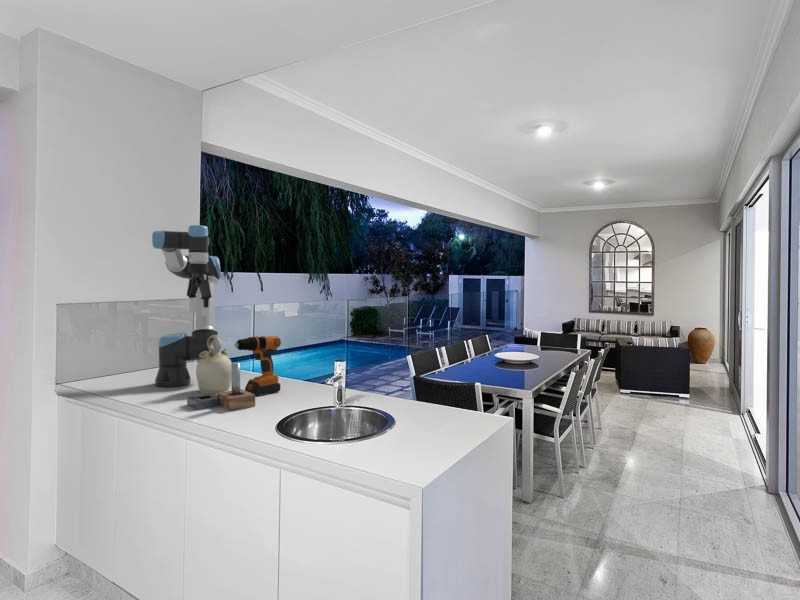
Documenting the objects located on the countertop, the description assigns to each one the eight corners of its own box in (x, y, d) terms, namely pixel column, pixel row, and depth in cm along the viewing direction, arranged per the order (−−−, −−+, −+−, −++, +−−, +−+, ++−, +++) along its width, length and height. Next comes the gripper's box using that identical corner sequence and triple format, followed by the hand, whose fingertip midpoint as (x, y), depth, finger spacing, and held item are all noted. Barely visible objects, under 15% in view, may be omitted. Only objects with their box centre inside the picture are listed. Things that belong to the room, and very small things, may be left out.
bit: (230, 403, 190) (229, 363, 190) (238, 402, 193) (237, 362, 192) (233, 405, 188) (233, 364, 187) (241, 404, 190) (241, 363, 189)
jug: (203, 397, 204) (203, 337, 203) (191, 390, 216) (190, 334, 215) (238, 391, 214) (238, 335, 213) (225, 385, 226) (224, 331, 225)
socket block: (187, 405, 190) (187, 397, 190) (212, 401, 197) (212, 393, 197) (196, 411, 183) (196, 402, 183) (222, 406, 190) (222, 397, 190)
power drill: (240, 399, 200) (239, 339, 199) (230, 396, 205) (230, 337, 204) (284, 391, 216) (284, 335, 215) (274, 388, 221) (274, 333, 220)
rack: (217, 405, 191) (217, 392, 191) (241, 401, 198) (241, 389, 198) (230, 412, 183) (230, 398, 182) (255, 407, 190) (255, 394, 189)
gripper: (178, 263, 208) (178, 312, 209) (201, 262, 190) (201, 316, 191) (196, 263, 213) (196, 311, 214) (219, 263, 195) (220, 315, 196)
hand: (198, 314), depth 203 cm, fingers open, 13 cm apart
